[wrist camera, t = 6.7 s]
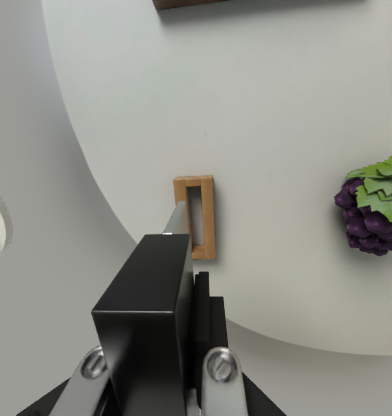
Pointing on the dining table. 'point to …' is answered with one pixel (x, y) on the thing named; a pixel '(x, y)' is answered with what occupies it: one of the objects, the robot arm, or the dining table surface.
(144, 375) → the knife
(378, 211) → the fruit
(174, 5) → the butter board
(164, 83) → the dining table surface
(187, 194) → the knife stand
